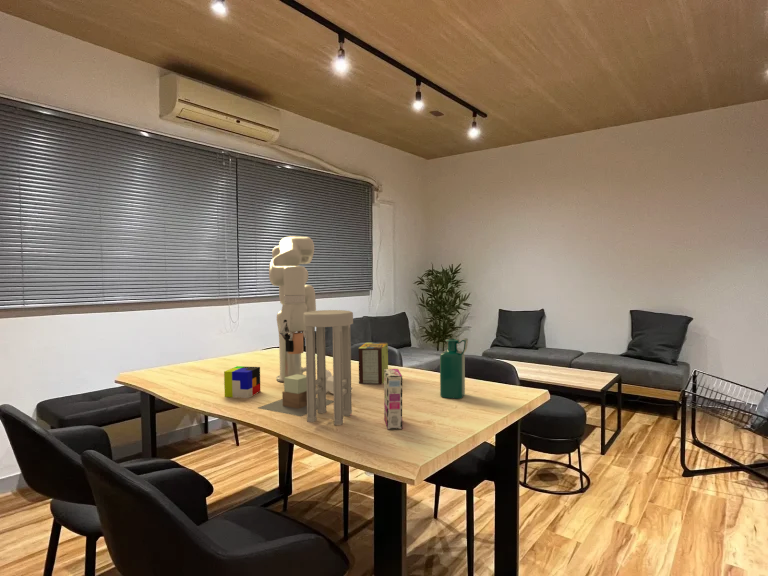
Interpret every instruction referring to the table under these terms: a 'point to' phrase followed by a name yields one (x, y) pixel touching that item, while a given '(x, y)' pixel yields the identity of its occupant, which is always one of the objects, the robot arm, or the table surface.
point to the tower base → (294, 399)
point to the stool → (340, 362)
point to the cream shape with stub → (330, 382)
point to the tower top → (295, 384)
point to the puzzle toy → (242, 381)
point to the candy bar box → (393, 398)
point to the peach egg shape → (297, 343)
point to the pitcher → (453, 370)
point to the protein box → (372, 362)
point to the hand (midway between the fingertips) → (295, 349)
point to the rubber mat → (289, 408)
